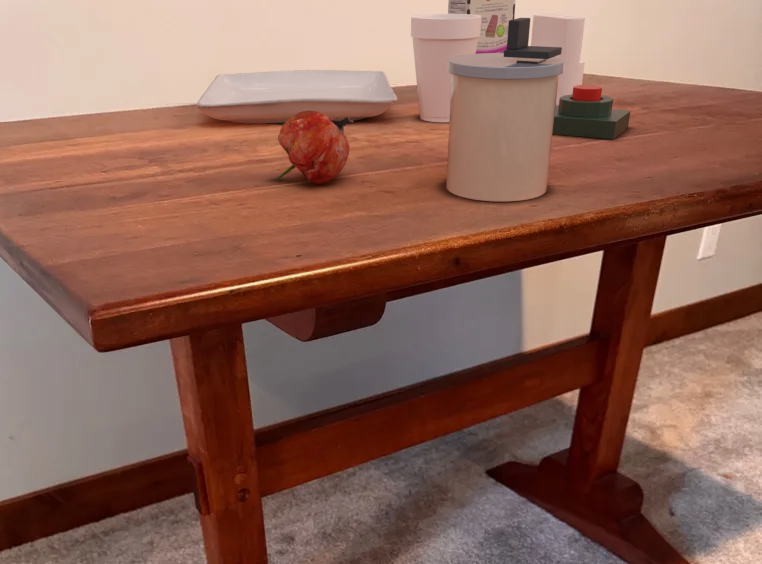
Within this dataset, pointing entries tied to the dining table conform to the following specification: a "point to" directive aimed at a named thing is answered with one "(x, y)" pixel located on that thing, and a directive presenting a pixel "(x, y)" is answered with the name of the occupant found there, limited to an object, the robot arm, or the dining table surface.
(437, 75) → the foam cup
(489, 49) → the candy bar box
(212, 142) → the dining table surface
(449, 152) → the travel mug
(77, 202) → the dining table surface
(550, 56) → the slider
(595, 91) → the button
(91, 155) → the dining table surface
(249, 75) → the square plate
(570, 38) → the white tapered box
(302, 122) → the pomegranate
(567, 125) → the box
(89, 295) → the dining table surface
